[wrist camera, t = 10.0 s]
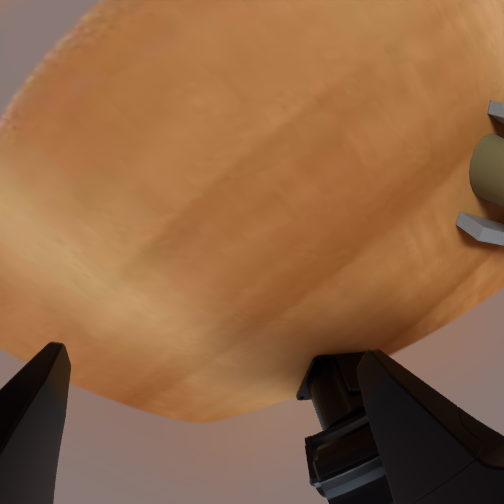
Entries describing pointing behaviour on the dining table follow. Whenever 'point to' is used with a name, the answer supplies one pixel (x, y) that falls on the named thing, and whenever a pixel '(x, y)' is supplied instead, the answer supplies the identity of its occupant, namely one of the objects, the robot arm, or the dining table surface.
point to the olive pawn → (488, 169)
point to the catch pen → (477, 225)
